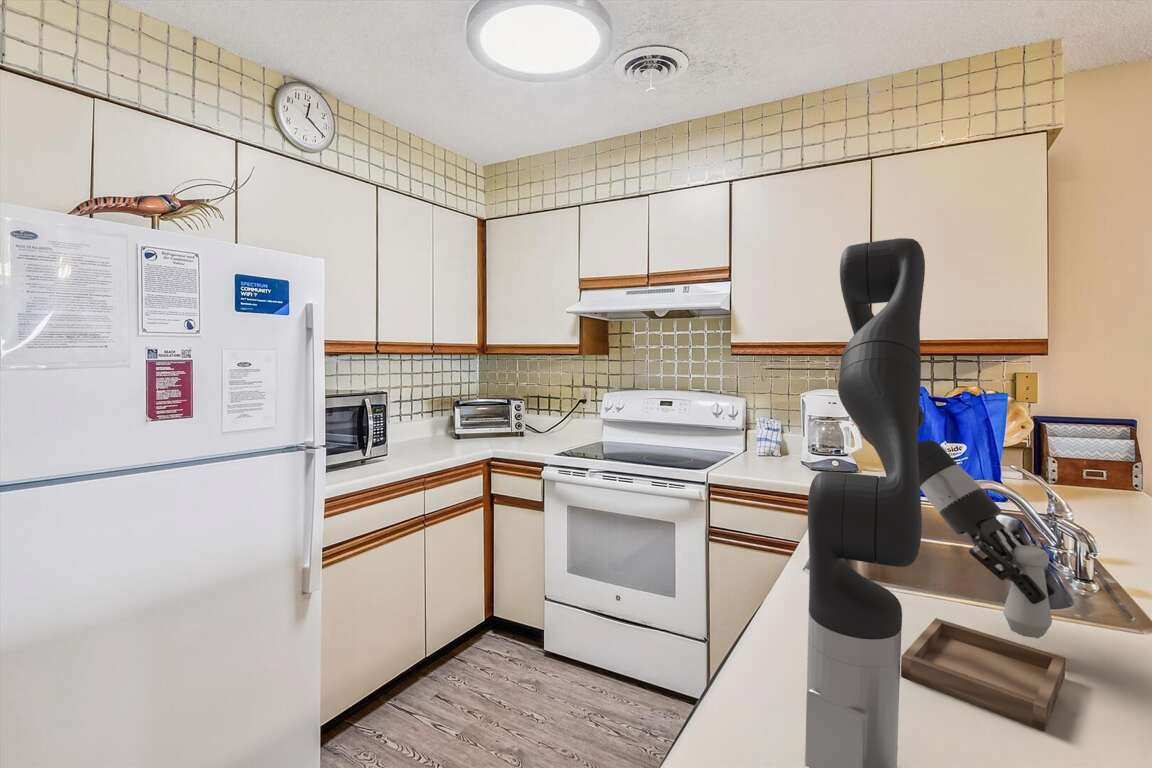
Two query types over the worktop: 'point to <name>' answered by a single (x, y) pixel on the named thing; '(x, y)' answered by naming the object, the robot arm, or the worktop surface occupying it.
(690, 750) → the worktop surface
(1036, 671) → the walnut tray
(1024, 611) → the salt shaker
